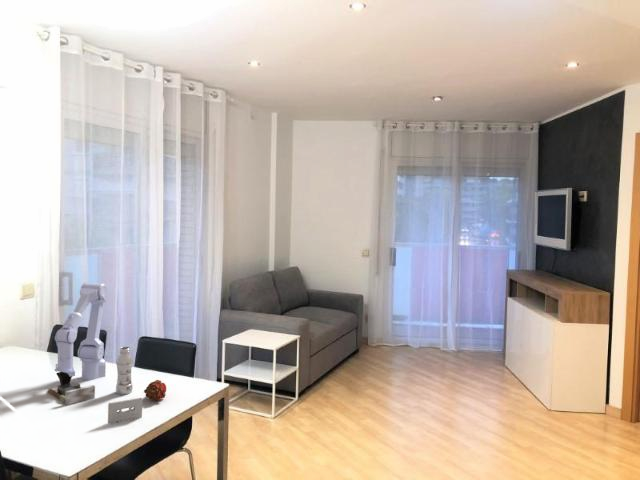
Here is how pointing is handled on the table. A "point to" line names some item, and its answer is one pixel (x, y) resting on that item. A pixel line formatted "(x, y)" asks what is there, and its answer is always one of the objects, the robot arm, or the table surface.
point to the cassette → (124, 415)
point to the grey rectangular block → (67, 387)
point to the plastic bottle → (124, 372)
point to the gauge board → (74, 395)
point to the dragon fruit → (155, 390)
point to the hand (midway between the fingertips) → (64, 389)
